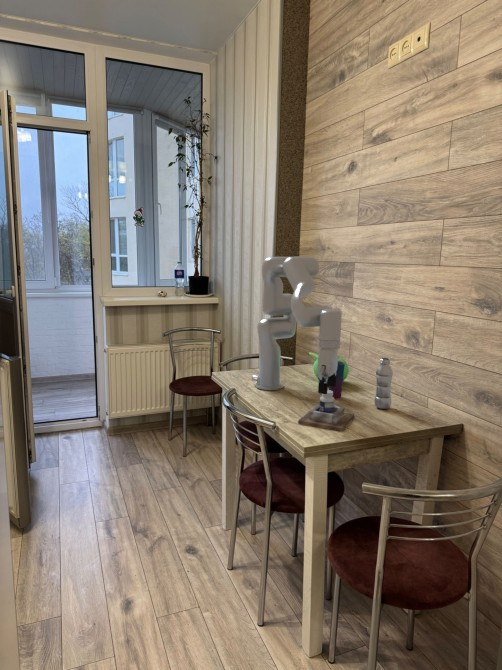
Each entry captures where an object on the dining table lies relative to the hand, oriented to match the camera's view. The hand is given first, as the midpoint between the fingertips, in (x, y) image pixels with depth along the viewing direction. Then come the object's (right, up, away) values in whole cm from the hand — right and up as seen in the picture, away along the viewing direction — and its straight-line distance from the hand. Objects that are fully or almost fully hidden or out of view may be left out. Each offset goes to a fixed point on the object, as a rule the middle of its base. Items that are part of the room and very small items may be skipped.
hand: (327, 389), depth 172 cm
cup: (+8, -7, +30) cm, 31 cm away
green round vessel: (+9, -3, +50) cm, 51 cm away
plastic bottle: (+25, -9, +16) cm, 31 cm away
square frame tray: (0, -11, +2) cm, 12 cm away
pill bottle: (0, -10, +2) cm, 11 cm away
